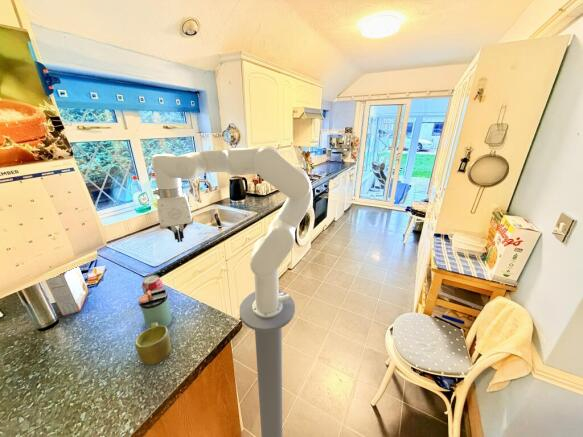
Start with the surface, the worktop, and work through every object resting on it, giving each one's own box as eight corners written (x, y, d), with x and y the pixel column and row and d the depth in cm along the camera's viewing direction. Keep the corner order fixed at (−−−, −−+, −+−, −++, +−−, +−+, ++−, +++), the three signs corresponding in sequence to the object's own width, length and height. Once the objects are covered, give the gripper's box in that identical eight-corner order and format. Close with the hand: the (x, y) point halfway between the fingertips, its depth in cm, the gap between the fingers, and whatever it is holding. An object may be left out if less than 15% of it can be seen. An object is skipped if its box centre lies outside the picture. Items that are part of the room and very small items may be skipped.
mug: (172, 361, 73) (157, 335, 71) (140, 376, 72) (123, 350, 69) (183, 335, 85) (170, 312, 82) (155, 347, 84) (141, 325, 81)
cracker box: (72, 295, 103) (55, 254, 96) (89, 291, 106) (74, 250, 98) (60, 317, 92) (40, 271, 84) (80, 312, 94) (62, 267, 87)
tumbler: (172, 310, 95) (166, 285, 91) (173, 326, 88) (167, 299, 83) (146, 318, 91) (138, 292, 87) (145, 336, 84) (137, 308, 79)
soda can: (144, 303, 99) (137, 280, 94) (160, 294, 104) (155, 272, 100) (152, 310, 95) (146, 286, 91) (169, 301, 101) (164, 277, 96)
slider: (151, 294, 86) (150, 289, 85) (151, 300, 83) (149, 295, 83) (140, 297, 85) (139, 292, 84) (140, 303, 82) (138, 298, 81)
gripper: (144, 197, 73) (156, 249, 80) (195, 192, 79) (202, 240, 86) (145, 192, 79) (156, 240, 86) (193, 187, 86) (199, 232, 92)
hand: (179, 240), depth 86 cm, fingers closed
